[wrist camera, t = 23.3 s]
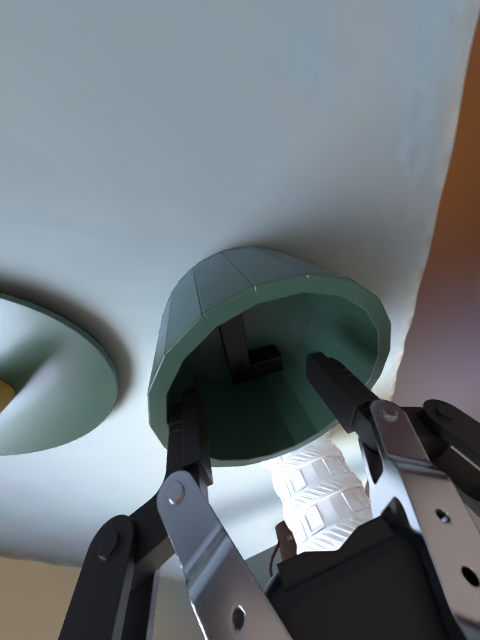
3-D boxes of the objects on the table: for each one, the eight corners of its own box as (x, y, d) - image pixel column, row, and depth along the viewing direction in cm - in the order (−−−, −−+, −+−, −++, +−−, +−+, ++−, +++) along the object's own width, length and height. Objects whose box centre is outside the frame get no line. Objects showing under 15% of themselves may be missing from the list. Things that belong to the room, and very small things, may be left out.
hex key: (209, 289, 14) (212, 299, 12) (269, 275, 14) (279, 282, 13) (229, 371, 18) (233, 386, 17) (274, 357, 19) (283, 370, 17)
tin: (132, 266, 12) (80, 323, 6) (320, 231, 14) (429, 246, 8) (189, 399, 19) (192, 490, 13) (309, 362, 21) (362, 425, 15)
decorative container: (263, 468, 31) (339, 706, 16) (249, 434, 25) (351, 766, 10) (325, 441, 33) (450, 639, 17) (326, 402, 26) (520, 655, 11)
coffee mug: (306, 514, 52) (330, 572, 44) (284, 529, 54) (303, 588, 46) (280, 515, 46) (302, 582, 38) (257, 532, 48) (273, 600, 40)
